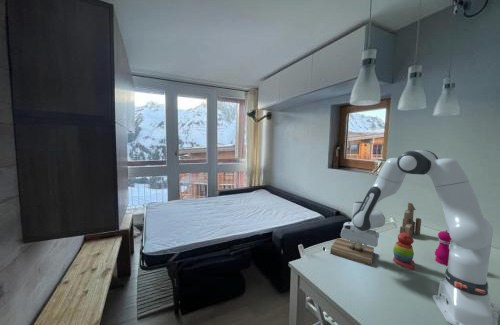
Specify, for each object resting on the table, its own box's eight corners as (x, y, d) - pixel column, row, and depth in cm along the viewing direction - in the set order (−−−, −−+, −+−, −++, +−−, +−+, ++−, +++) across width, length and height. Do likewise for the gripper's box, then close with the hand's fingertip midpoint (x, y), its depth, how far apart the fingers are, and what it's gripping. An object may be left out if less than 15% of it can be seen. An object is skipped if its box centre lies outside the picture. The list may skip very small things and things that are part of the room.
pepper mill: (454, 266, 115) (457, 232, 114) (439, 264, 117) (442, 231, 115) (444, 259, 122) (448, 227, 121) (431, 258, 124) (434, 226, 122)
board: (370, 265, 114) (371, 259, 114) (330, 253, 127) (330, 248, 126) (373, 252, 129) (373, 247, 128) (336, 242, 141) (337, 237, 141)
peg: (360, 256, 123) (361, 241, 122) (353, 254, 125) (354, 239, 125) (361, 254, 126) (362, 238, 126) (354, 252, 129) (355, 236, 128)
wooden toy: (409, 238, 152) (411, 205, 150) (399, 234, 158) (402, 203, 156) (420, 235, 158) (423, 203, 156) (411, 231, 164) (413, 201, 162)
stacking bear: (414, 271, 110) (416, 239, 109) (391, 263, 117) (393, 233, 115) (414, 262, 118) (417, 233, 117) (393, 256, 125) (395, 228, 124)
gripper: (379, 229, 121) (377, 252, 122) (342, 222, 133) (341, 242, 134) (378, 233, 116) (377, 256, 117) (340, 224, 128) (339, 246, 129)
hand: (357, 248), depth 126 cm, fingers closed on peg, 4 cm apart
